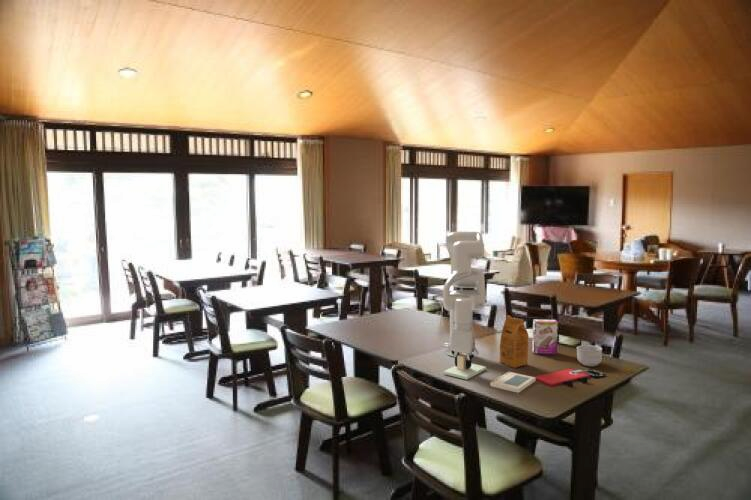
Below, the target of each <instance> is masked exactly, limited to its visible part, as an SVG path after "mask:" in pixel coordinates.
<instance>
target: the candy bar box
mask: <svg viewBox="0 0 751 500" xmlns="http://www.w3.org/2000/svg"><path fill="white" fill-rule="evenodd" d="M558 333H559V322H558V321H557V320H556V319H535V318H534V319H533V320H532V340H531V341H532V342H531V343H532V347H531V351H532V353H533V354H534V355H556V356H557V355H558Z"/></svg>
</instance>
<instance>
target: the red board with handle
mask: <svg viewBox="0 0 751 500" xmlns="http://www.w3.org/2000/svg"><path fill="white" fill-rule="evenodd" d="M606 375H607V374H606V373H603V372H601V371H597V370H595V369H591V368H589V369H586V370H585V369H584V370H582V369H577V370H576V369H573V368H571V367H569V368H565V369H560V370H556V371H551V372H547V373H543V374H538V375H533V376H532V377H535V378H536V382H539V383H542V384H544V385H545V386H548V387H555V386H560V385H567V387H568V388H571V387H573V383H574V382H577V381H579V382H581V381H582V384H583V385H584V384H588V379H590V378H591V376H592V377H594V378H598V377H603V376H606Z"/></svg>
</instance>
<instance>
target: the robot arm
mask: <svg viewBox="0 0 751 500" xmlns="http://www.w3.org/2000/svg"><path fill="white" fill-rule="evenodd" d="M445 246H446V249H447V251H448V255H449V258H450V276H448V278H447V279H446V280H445V282H444V285H443V290H442V297H443V298H442V301H443V302H442V304H443V308H444V310H446V311H448V312H449V342H444V343H443V348H446V349H447V350H446V355H448V356H450V357H453V358H454V366H456V367H457V356H458V355H460V354H462V353H464V354H466V355H467V360H466V369H469V368H471V363H472V359H474V358H475V356H477V355H479V351H478V350H477V347H476V337H475V332H474V331H475V330H474V329H473V311H481V310H483V309H484V308H485V307H486V289H485V287H486V286H485V285H486V284H485V273H484V271H483V270H482V269H481V268H478V267H475V268H474V267H472V260H473V259H474V260H476V259H477V260H479V259H483V258H484V255H485V245H484V240H483V235H482V233H481V232H478V231H451V232H449V233H447V234H446V236H445ZM452 286H453V287H454V288H465V289H456V290H455V289H454V290H452V291H450V288H451V287H452ZM466 288H467V289H468V288H469V290H467V289H466ZM471 288H472V289H471Z"/></svg>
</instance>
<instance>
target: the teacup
mask: <svg viewBox="0 0 751 500" xmlns="http://www.w3.org/2000/svg"><path fill="white" fill-rule="evenodd" d="M576 355H577V357H576V358H577V361H578V362H579V364H581V365H583V366H586V367H597V366H599V364H601V363H602V359H603V348H602V347H601V346H600V345H591V344H583V345H579V346H576Z"/></svg>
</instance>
